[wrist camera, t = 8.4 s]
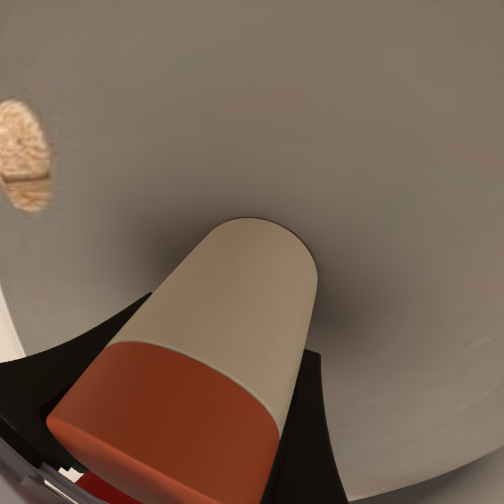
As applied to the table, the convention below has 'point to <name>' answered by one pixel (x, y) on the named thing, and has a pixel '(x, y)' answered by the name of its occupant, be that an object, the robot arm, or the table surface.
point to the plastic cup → (104, 490)
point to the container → (199, 374)
